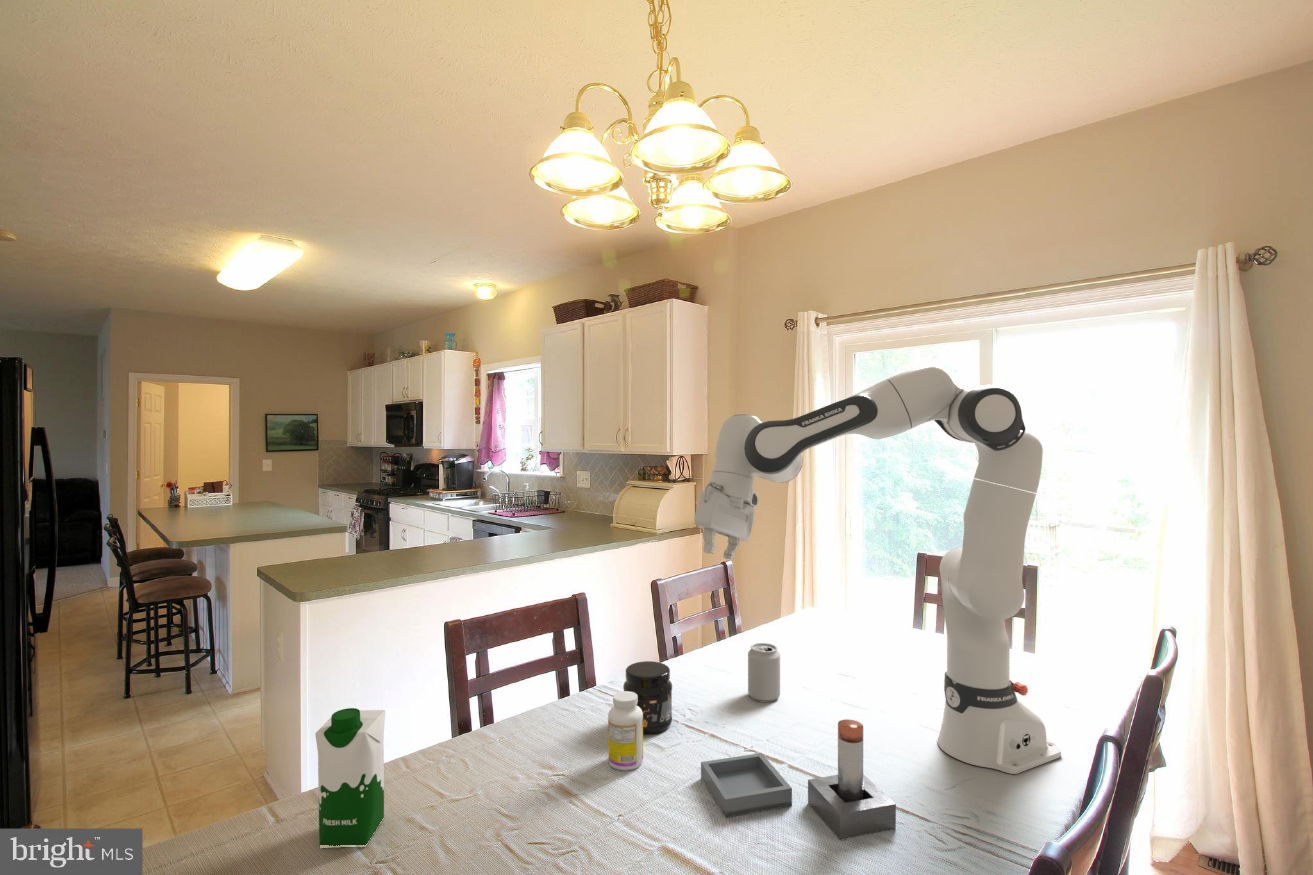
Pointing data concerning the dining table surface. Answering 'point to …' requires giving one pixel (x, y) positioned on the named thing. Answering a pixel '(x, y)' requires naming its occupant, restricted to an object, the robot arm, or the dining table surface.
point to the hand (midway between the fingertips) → (718, 556)
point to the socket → (851, 808)
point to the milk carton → (350, 776)
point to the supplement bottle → (625, 732)
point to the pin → (850, 760)
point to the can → (764, 672)
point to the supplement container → (651, 693)
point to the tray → (745, 784)
